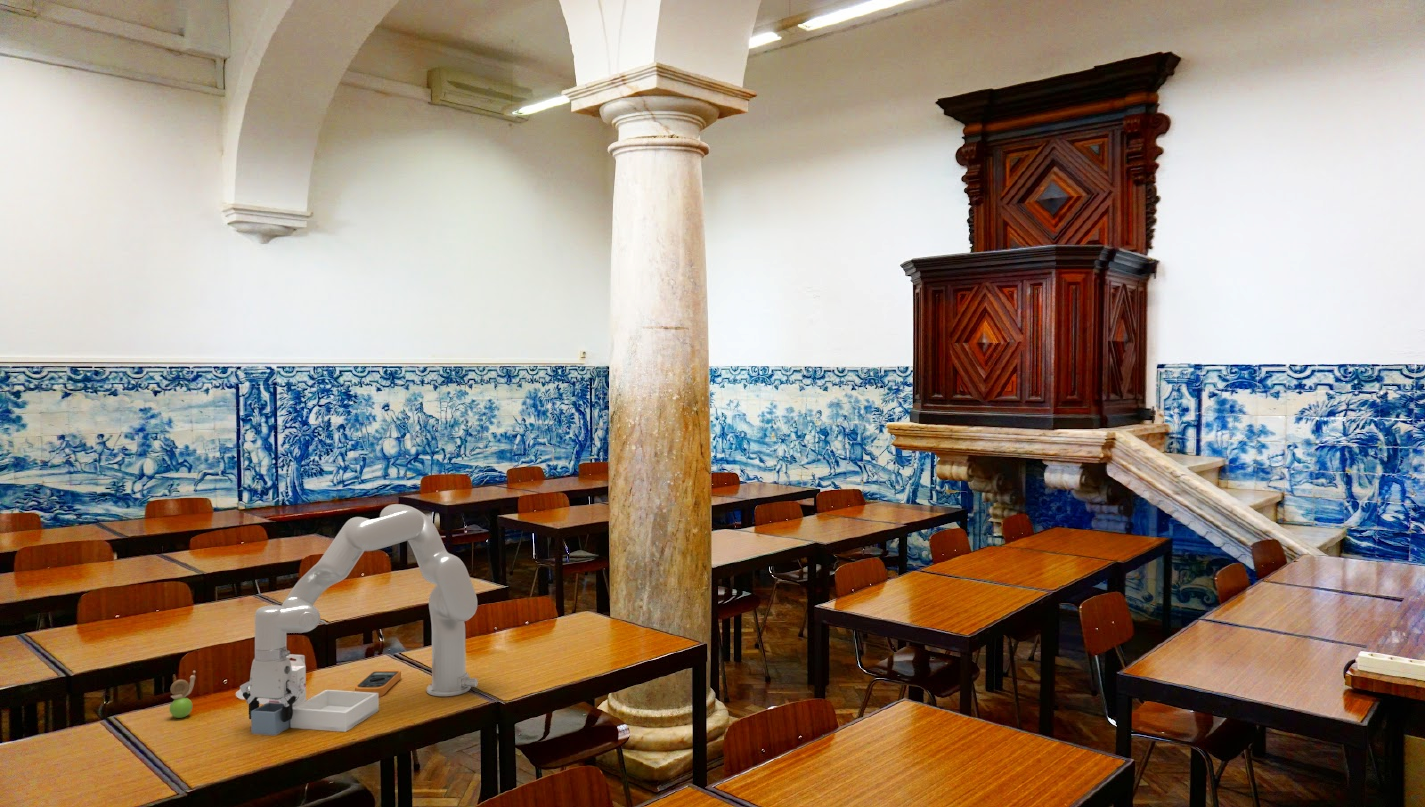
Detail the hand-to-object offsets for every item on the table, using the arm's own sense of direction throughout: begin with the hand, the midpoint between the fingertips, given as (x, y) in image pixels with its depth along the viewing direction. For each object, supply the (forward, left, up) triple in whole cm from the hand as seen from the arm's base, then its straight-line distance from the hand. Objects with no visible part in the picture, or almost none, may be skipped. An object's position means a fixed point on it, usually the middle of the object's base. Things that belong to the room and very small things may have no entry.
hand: (270, 718), depth 247 cm
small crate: (0, 0, -3) cm, 3 cm away
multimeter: (-9, -36, -4) cm, 38 cm away
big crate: (-12, -10, -3) cm, 16 cm away
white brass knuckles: (+19, -26, -4) cm, 32 cm away
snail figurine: (+30, -4, -3) cm, 30 cm away
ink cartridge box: (+6, -15, -3) cm, 17 cm away
